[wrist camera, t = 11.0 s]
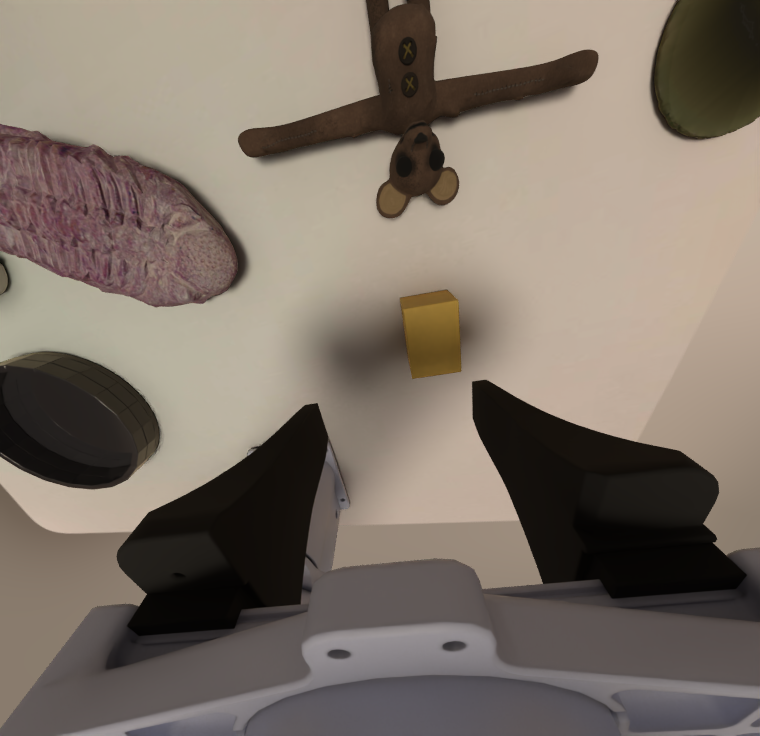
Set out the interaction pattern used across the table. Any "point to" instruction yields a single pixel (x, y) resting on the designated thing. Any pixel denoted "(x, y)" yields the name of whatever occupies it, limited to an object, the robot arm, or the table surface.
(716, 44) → the olive green flat disc
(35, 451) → the pan
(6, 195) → the fossil
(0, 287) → the photo printer
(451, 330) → the cheese
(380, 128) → the bear figurine
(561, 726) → the robot arm
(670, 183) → the table surface
